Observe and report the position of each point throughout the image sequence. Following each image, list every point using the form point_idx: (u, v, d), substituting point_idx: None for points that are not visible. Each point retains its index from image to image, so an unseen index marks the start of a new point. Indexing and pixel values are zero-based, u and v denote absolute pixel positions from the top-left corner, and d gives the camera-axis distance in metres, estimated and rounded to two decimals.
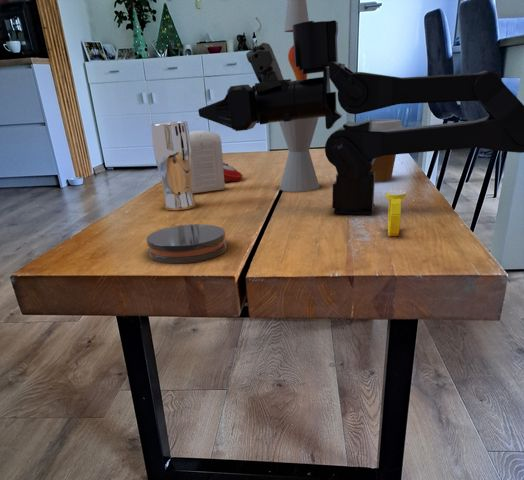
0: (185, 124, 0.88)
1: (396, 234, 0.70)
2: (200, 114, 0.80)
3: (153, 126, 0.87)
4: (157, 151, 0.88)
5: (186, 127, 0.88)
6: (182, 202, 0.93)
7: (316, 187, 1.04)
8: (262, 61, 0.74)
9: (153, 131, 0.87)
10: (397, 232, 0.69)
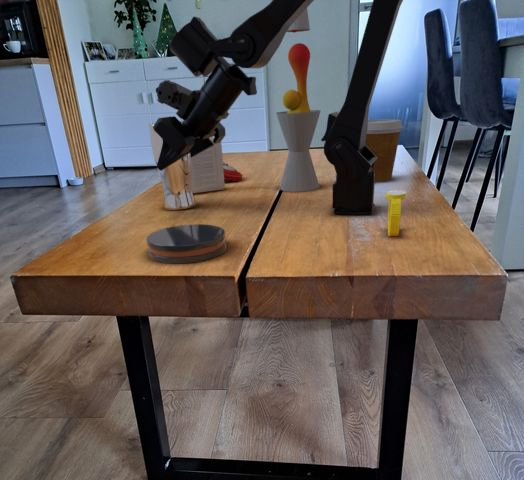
0: None
1: (396, 234, 0.70)
2: (160, 168, 0.89)
3: (151, 126, 0.87)
4: (156, 152, 0.88)
5: None
6: (182, 201, 0.93)
7: (316, 187, 1.04)
8: (166, 92, 0.82)
9: (151, 131, 0.87)
10: (397, 232, 0.69)
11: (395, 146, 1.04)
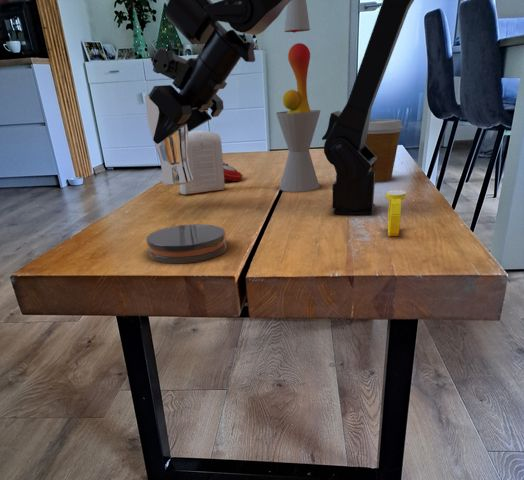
0: None
1: (396, 234, 0.70)
2: (156, 141, 0.87)
3: (147, 98, 0.84)
4: (152, 124, 0.86)
5: None
6: (180, 176, 0.90)
7: (316, 187, 1.04)
8: (162, 60, 0.79)
9: (147, 103, 0.85)
10: (397, 232, 0.69)
11: (395, 146, 1.04)
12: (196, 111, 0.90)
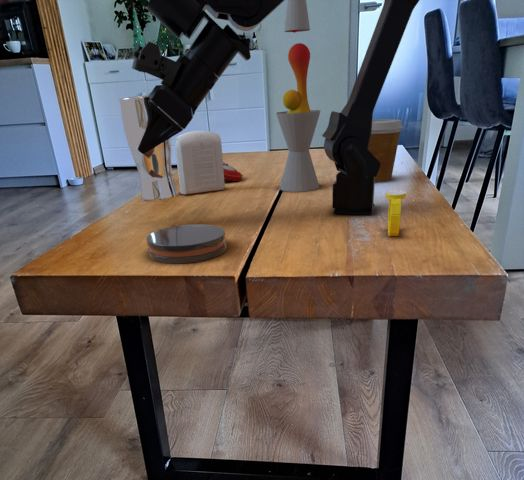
0: None
1: (396, 234, 0.70)
2: (143, 151, 0.74)
3: (127, 100, 0.72)
4: (136, 131, 0.73)
5: None
6: (168, 190, 0.79)
7: (316, 187, 1.04)
8: (151, 56, 0.68)
9: (127, 107, 0.72)
10: (397, 232, 0.69)
11: (395, 146, 1.04)
12: None
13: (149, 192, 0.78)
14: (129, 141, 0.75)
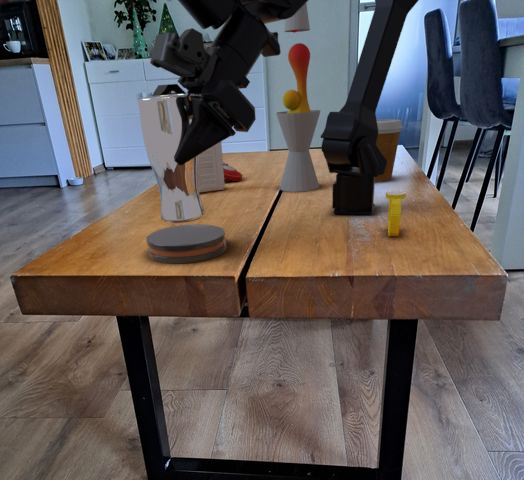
0: None
1: (396, 234, 0.70)
2: (181, 162, 0.61)
3: (160, 100, 0.58)
4: (171, 138, 0.60)
5: None
6: (200, 207, 0.67)
7: (316, 187, 1.04)
8: (195, 46, 0.56)
9: (159, 108, 0.58)
10: (397, 232, 0.69)
11: (395, 146, 1.04)
12: None
13: (181, 211, 0.65)
14: (158, 151, 0.61)
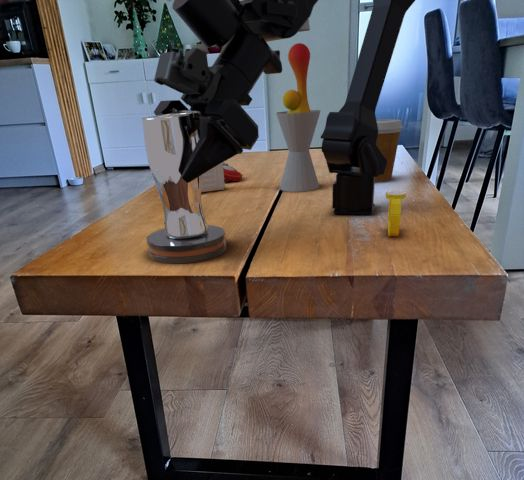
0: None
1: (396, 234, 0.70)
2: (188, 179, 0.61)
3: (164, 120, 0.59)
4: (175, 156, 0.61)
5: None
6: (204, 222, 0.67)
7: (316, 187, 1.04)
8: (199, 65, 0.57)
9: (164, 127, 0.59)
10: (397, 232, 0.69)
11: (395, 146, 1.04)
12: None
13: (186, 227, 0.66)
14: (162, 169, 0.62)
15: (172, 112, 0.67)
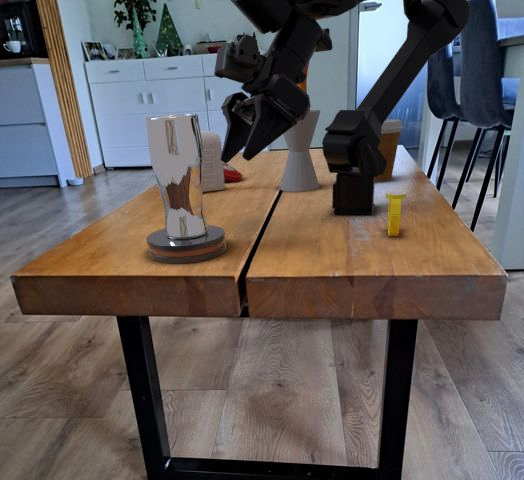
0: None
1: (396, 234, 0.70)
2: (249, 157, 0.65)
3: (169, 120, 0.59)
4: (178, 156, 0.61)
5: None
6: (204, 224, 0.67)
7: (316, 187, 1.04)
8: (250, 50, 0.62)
9: (168, 127, 0.59)
10: (397, 232, 0.69)
11: (395, 146, 1.04)
12: (246, 124, 0.73)
13: (186, 228, 0.66)
14: (165, 169, 0.62)
15: (236, 104, 0.72)
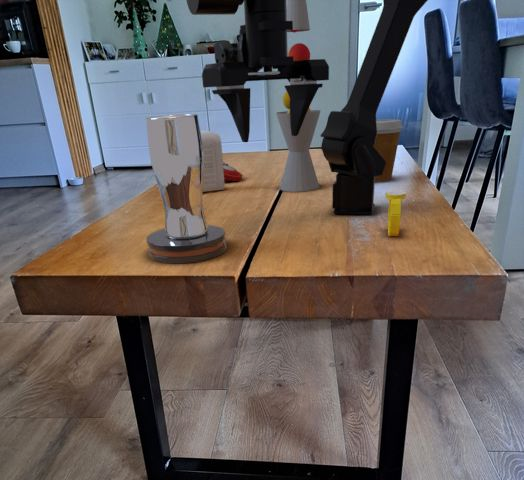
0: None
1: (396, 234, 0.70)
2: (244, 139, 0.71)
3: (169, 120, 0.59)
4: (178, 156, 0.61)
5: None
6: (204, 224, 0.67)
7: (316, 187, 1.04)
8: (219, 54, 0.71)
9: (168, 127, 0.59)
10: (397, 232, 0.69)
11: (395, 146, 1.04)
12: (299, 87, 0.73)
13: (186, 228, 0.66)
14: (165, 169, 0.62)
15: None
